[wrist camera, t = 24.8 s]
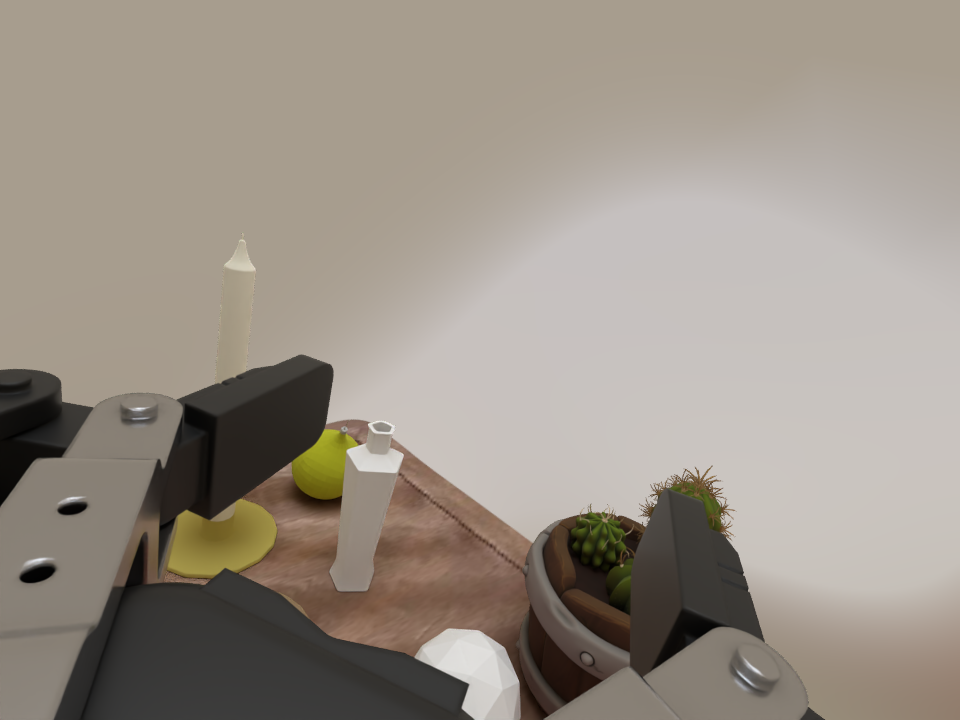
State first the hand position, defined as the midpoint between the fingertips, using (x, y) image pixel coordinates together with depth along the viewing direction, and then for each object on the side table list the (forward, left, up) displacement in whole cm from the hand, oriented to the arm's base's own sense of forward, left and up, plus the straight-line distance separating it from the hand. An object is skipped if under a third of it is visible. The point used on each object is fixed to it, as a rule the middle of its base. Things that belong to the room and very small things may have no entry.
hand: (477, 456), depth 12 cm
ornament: (+14, +34, -29) cm, 47 cm away
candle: (+3, +31, -29) cm, 43 cm away
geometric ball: (+12, +7, -29) cm, 32 cm away
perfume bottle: (+12, +22, -29) cm, 38 cm away
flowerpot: (+24, +5, -29) cm, 38 cm away
